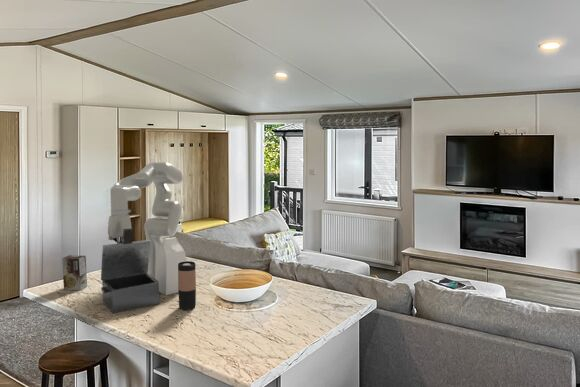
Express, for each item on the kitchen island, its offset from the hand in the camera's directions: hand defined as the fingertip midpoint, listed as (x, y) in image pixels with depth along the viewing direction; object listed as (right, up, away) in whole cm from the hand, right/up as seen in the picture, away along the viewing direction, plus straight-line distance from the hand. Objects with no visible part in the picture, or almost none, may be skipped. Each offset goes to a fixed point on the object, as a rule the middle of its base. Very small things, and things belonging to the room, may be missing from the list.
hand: (120, 250), depth 214 cm
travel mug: (+35, -24, -15) cm, 45 cm away
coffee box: (-26, -20, +10) cm, 35 cm away
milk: (+22, -21, +10) cm, 31 cm away
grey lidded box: (+8, -22, -10) cm, 26 cm away
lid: (+6, 0, -8) cm, 10 cm away
